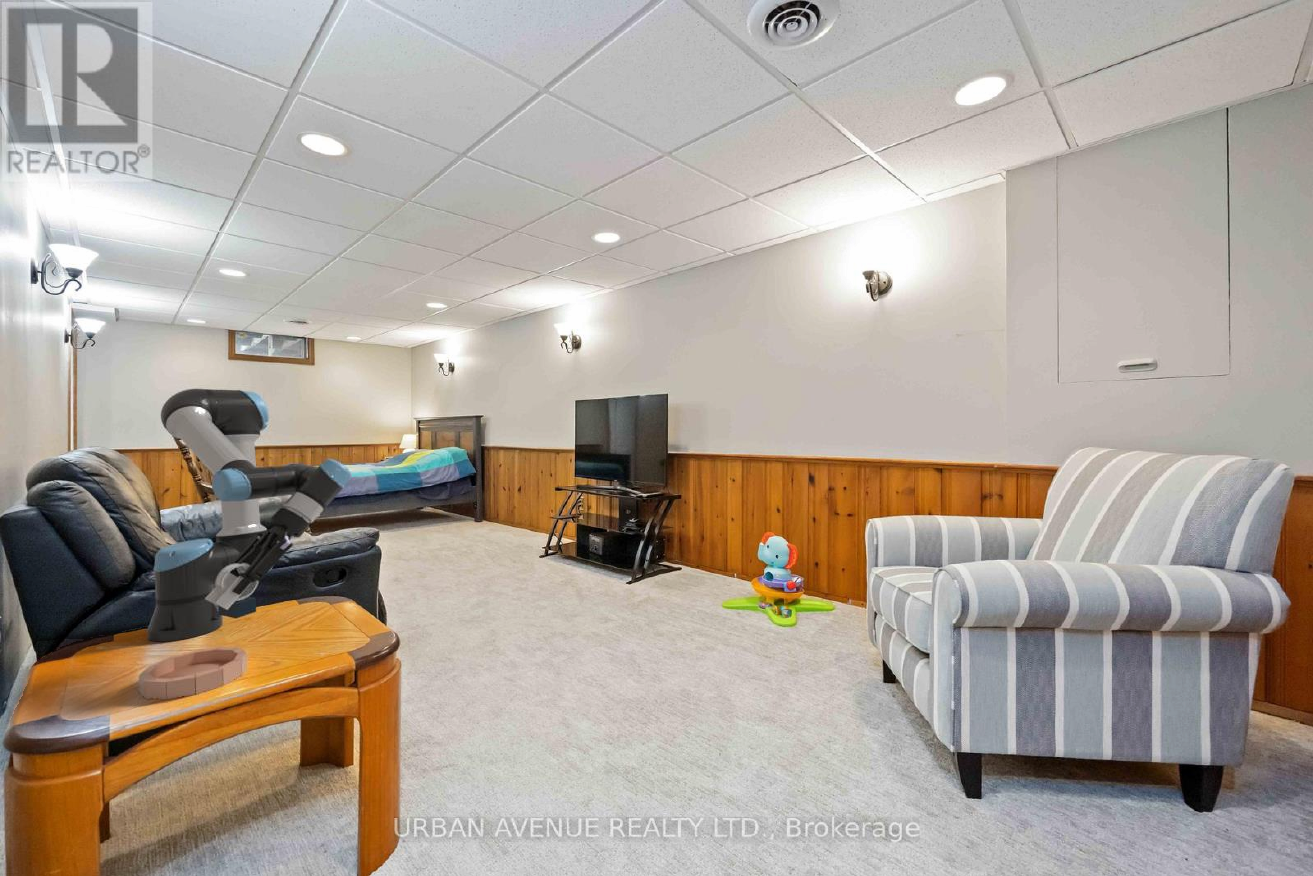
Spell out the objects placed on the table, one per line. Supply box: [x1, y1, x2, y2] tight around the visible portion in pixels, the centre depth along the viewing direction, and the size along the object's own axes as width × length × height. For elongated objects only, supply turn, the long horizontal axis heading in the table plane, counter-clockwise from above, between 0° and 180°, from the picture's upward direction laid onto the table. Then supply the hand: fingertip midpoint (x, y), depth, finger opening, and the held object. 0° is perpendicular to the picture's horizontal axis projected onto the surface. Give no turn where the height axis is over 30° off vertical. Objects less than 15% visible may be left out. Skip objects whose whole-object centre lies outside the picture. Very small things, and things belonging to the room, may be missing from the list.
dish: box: [138, 646, 248, 700], centre depth 117 cm, size 17×17×4 cm
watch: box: [214, 563, 260, 619], centre depth 121 cm, size 6×8×11 cm
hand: (216, 604), depth 118 cm, fingers closed on watch, 5 cm apart
